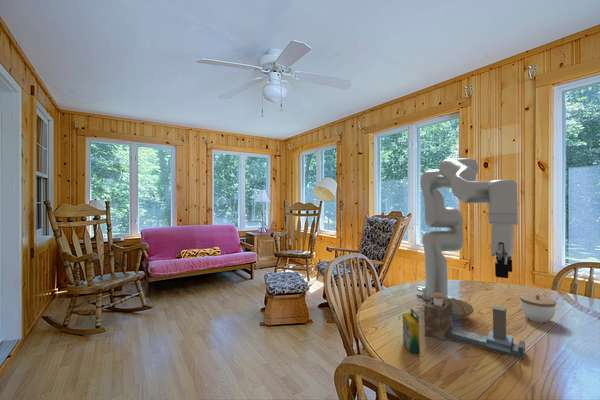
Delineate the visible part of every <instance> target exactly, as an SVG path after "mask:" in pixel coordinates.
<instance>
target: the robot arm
mask: <svg viewBox="0 0 600 400" xmlns="http://www.w3.org/2000/svg"><path fill="white" fill-rule="evenodd" d="M478 172H479V164H478V162H477V161H476V160H475V159H473V158H472V157H471V158H470V157H462V158H459V157H453V158H447V159H444V160H442V161H441V162H440V163H439V165H438V169H432V170H426V171H424V172H423V173H422V174H421V176H420V183H419V184H420V188H421V192H422V195H423V200H424V204H423V205H424V220H425V221H424V222H425V225H426V226H427V227H429V228H431V229H445V228H446V229H447V228H448V230H430V231H429V230H428V231H427V232H425V233H424V234H423V235H422V240H421V241H422V247H423V251H424V273H425V275H424V282H425V286H421V285H417V286H416V290H417V291H418V292H422V293H421V298H422V299H424V297H428V298H426V300H425V301H427V299H429V298H434V297H433V293H442V294H443V298H446V299H449V298H452V296H451V295H449V294H448V293H449V291H448V286H449V285H448V260H447V258H446V257H445V255H444V254H443V252H458V251H461V250H462V249H463V247H464V222H463V214H462V212H461V211H460V210H459V209H458V208H456V207H446V206H445V198H444V197H445V196H444V195H443V194H442V193H441V191H440V190H439V189H451V192H452V195H453V196H454V197H456V198H457V199H458V201H461V202H463V203H465V204H488V205H487V206H488V224H489V225H491V234H490V235H491V236H490V238H491V240H490V241H491V242H490V243H491V245H490V255H491V256H492V257H494V256H495V263H494V264H495V265H494V271H495V274H494V275H495V277H496V278H502V279H509V273H512V272H513V259H512V255H513V254H514V239H515V238H514V237H515V235H514V234H515V233H514V226H515V225H517V226H518V225H519V215H518V207H519V205H518V202H519V201H518V183H517V182H516V180H513V179H494V180H476V179H477V175H478ZM423 296H424V297H423ZM430 300H432V299H430Z"/></svg>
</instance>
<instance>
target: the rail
mask: <svg viewBox="0 0 600 400" xmlns="http://www.w3.org/2000/svg"><path fill="white" fill-rule="evenodd" d="M487 336H488V335H487ZM487 336H486V335H483V334H479V333H476V332H472V331H468V330H464V329H460V328H455V327H453V326H452V327H449V328H448V330H447V331H446V338H445V339H449V340H453V341H456V342H460V343H464V344H466V345H469V346H473V347H477V348H480V349H484V350H487V351H492V352H495V353H498V354H502V355H506V356H508V355H509V357H512V356H513V357H512V358H515V357H517V358H516V359H519V358H521V359H520V360H522V359H523V360H524V359H525V354H526V341H524V340H519V343H514V342H513V343H512V346H511V349H510V353H509V352H505V351H502V350H498V349H495V348H491V347H488V346H486V338H487Z"/></svg>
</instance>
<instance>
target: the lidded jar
mask: <svg viewBox="0 0 600 400" xmlns="http://www.w3.org/2000/svg"><path fill="white" fill-rule="evenodd" d="M519 300H520V307H521V311H522V312H523V314H524V315H525V316H526V317H527V319H528V318H529V319H528V320H530V321H533V322H536V321H537V322H536V323H542V322H546V323H548V322H549V321H550V320H553V318H554V317H555V314H556V309H557V308H556V306H557V305H556V304H557V302H556V301H555V300H554V299H552V298H550V297H546V296H541V295H540V294H535V295H534V294H522V295H520V297H519Z"/></svg>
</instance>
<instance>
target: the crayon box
mask: <svg viewBox="0 0 600 400" xmlns="http://www.w3.org/2000/svg"><path fill="white" fill-rule="evenodd" d="M402 338H403V339H402V342H403V345H405V346H404V347H406V349H407V350H408V352H409V353H410V355H420V354H421V346H420V345H421V344H420V343H421V341H420V339H421V338H420V316H419V314H418V313H416V312H415V310H414V309H413V308H412V307H410V313H407V312H405V313H402Z"/></svg>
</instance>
